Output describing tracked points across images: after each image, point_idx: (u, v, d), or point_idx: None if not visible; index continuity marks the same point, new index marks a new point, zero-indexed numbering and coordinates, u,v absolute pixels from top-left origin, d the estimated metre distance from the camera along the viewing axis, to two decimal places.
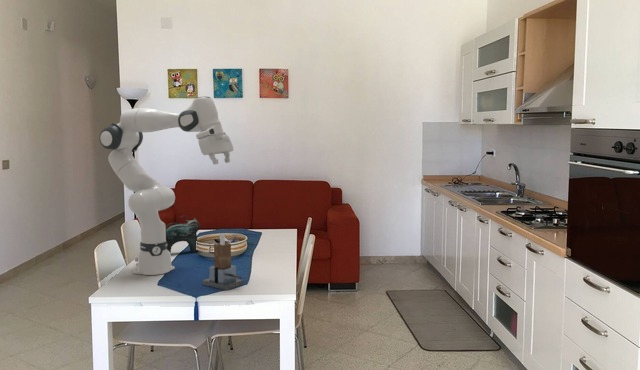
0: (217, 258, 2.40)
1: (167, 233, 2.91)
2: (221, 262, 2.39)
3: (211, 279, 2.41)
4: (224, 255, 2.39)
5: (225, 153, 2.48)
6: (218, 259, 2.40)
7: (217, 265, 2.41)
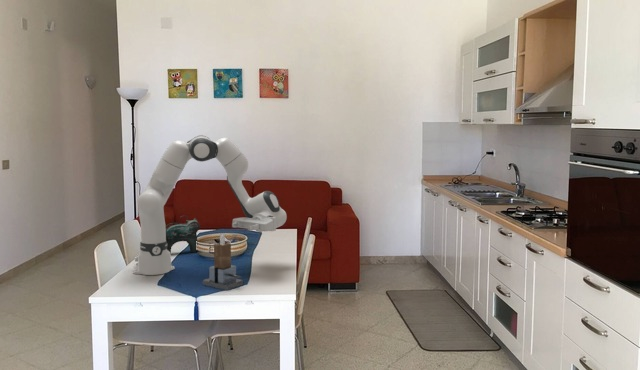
0: (217, 258, 2.40)
1: (167, 233, 2.91)
2: (221, 262, 2.39)
3: (211, 279, 2.41)
4: (224, 255, 2.39)
5: (238, 223, 2.57)
6: (218, 259, 2.40)
7: (217, 265, 2.41)
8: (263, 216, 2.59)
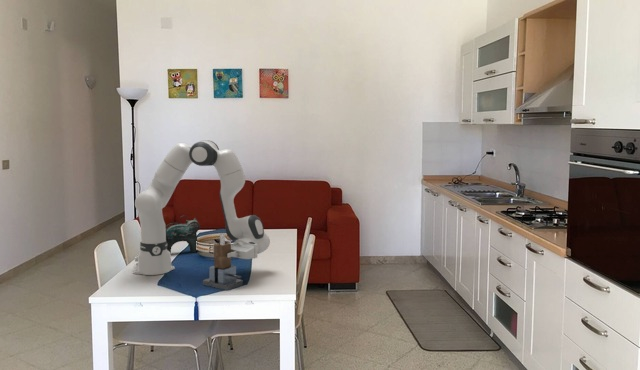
0: (217, 258, 2.40)
1: (167, 233, 2.91)
2: (221, 262, 2.39)
3: (211, 279, 2.41)
4: (224, 255, 2.39)
5: None
6: (218, 259, 2.40)
7: (217, 265, 2.41)
8: (244, 242, 2.49)
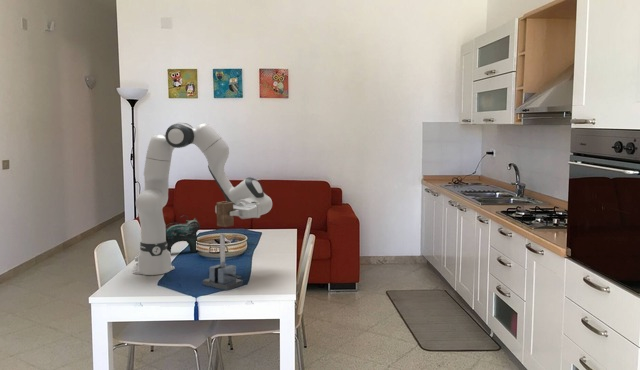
0: (220, 217, 2.39)
1: (167, 233, 2.91)
2: (224, 220, 2.38)
3: (211, 279, 2.41)
4: (227, 213, 2.39)
5: None
6: (221, 217, 2.39)
7: (220, 224, 2.40)
8: (247, 202, 2.48)
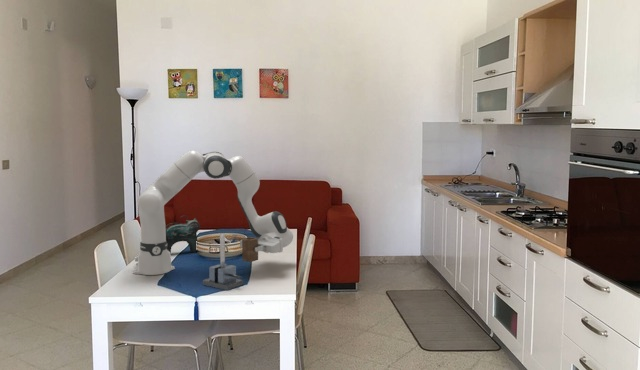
0: (245, 252, 2.54)
1: (167, 233, 2.91)
2: (249, 256, 2.53)
3: (211, 279, 2.41)
4: (252, 249, 2.53)
5: None
6: (246, 253, 2.53)
7: (245, 259, 2.54)
8: (270, 237, 2.63)
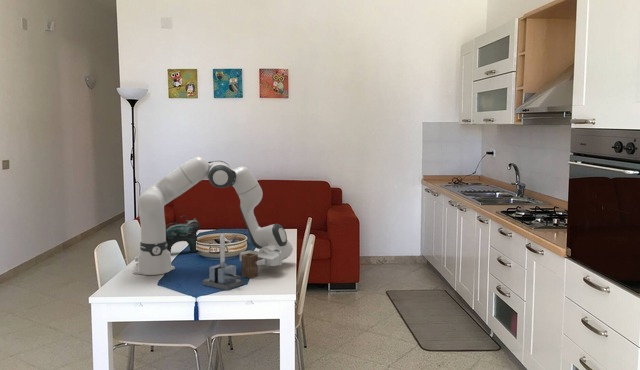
0: (245, 268, 2.54)
1: (167, 233, 2.91)
2: (249, 272, 2.53)
3: (211, 279, 2.41)
4: (252, 265, 2.54)
5: None
6: (246, 269, 2.54)
7: (245, 275, 2.55)
8: (270, 250, 2.63)
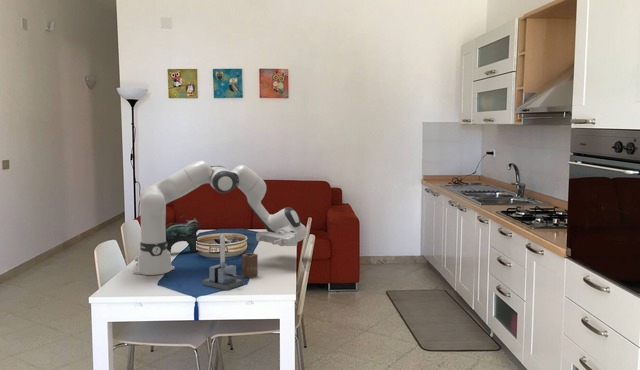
0: (245, 268, 2.54)
1: (167, 233, 2.91)
2: (249, 272, 2.53)
3: (211, 279, 2.41)
4: (252, 265, 2.54)
5: (262, 237, 2.71)
6: (246, 269, 2.54)
7: (245, 275, 2.55)
8: (285, 231, 2.73)
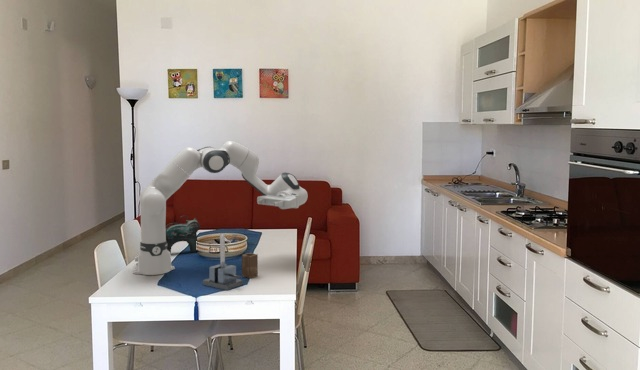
0: (245, 268, 2.54)
1: (167, 233, 2.91)
2: (249, 272, 2.53)
3: (211, 279, 2.41)
4: (252, 265, 2.54)
5: (263, 201, 2.69)
6: (246, 269, 2.54)
7: (245, 275, 2.55)
8: (286, 194, 2.71)
